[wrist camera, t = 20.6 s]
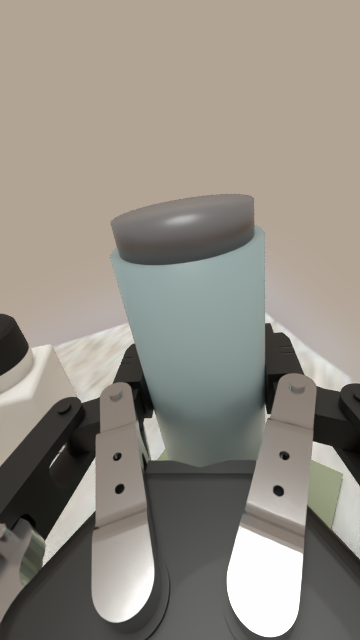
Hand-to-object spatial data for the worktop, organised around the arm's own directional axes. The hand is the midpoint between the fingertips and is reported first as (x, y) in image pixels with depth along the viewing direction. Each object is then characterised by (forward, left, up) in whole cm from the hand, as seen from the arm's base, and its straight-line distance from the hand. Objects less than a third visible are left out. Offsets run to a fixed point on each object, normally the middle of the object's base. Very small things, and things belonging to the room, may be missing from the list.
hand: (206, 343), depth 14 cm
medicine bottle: (-18, -5, -13) cm, 22 cm away
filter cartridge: (+1, -2, -9) cm, 9 cm away
